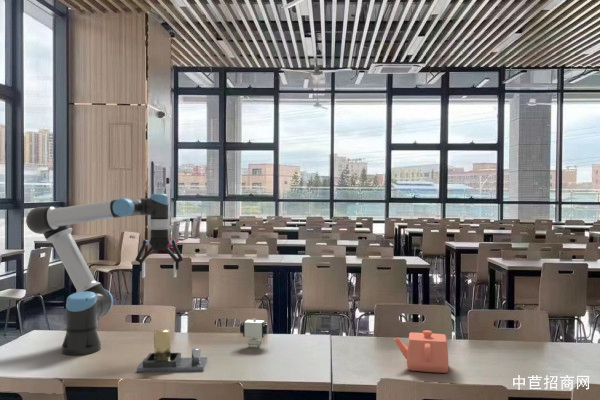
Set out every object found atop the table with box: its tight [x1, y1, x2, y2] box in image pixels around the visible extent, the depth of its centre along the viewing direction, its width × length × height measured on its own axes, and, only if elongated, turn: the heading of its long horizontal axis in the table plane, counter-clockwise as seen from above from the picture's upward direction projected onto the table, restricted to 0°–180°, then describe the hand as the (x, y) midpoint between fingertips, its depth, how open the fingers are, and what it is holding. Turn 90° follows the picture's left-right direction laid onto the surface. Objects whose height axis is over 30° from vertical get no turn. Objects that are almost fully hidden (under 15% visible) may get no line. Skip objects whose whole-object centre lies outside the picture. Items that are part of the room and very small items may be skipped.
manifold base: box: [136, 347, 208, 373], centre depth 202 cm, size 24×12×6 cm, turn 93°
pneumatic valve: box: [239, 318, 270, 349], centre depth 230 cm, size 6×12×12 cm, turn 80°
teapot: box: [393, 329, 449, 374], centre depth 201 cm, size 20×22×14 cm
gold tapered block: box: [153, 328, 172, 361], centre depth 202 cm, size 6×6×12 cm
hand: (159, 277), depth 235 cm, fingers open, 13 cm apart
